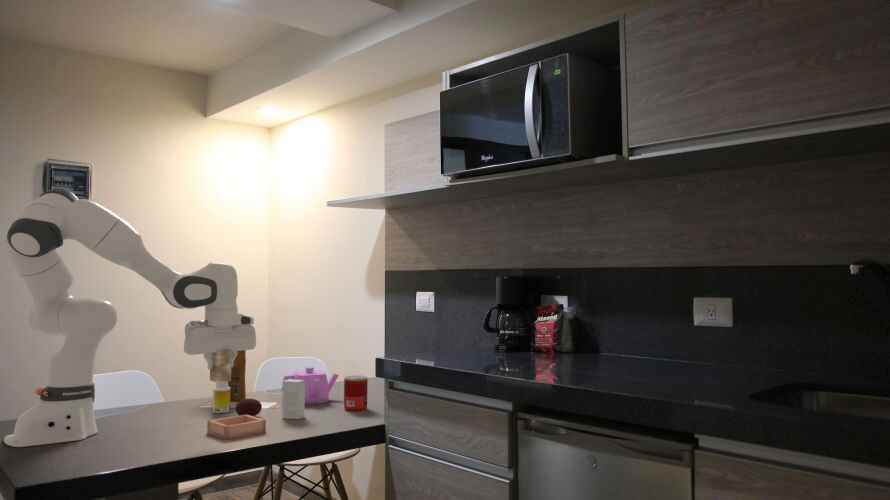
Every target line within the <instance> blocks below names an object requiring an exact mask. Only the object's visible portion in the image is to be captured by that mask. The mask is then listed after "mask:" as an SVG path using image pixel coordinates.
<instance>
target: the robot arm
mask: <svg viewBox="0 0 890 500" xmlns="http://www.w3.org/2000/svg"><path fill="white" fill-rule="evenodd" d="M64 240H73V241H77V242H78V243H80V244H81V245H83V246H84V247H86V248H87V249H89V250H90V251H91V252H93V253H94V254H96V255H98V256H99V257H101V258H103V259H105V260H107V261H109V262H111V263H113V264H115V265H118V266H120V267H123V268H127V269H129V270H131V271H133V272H135V273H136V274H138V275H139V276H141V277H142V278H143V279H145V280H146V281H148V282H149V283H150V284H152V285H153V286H154V287H155V288H157V289H158V290H159V291H160V292H161V294H162V295H163V298H164V299H165V300H166V302H167V303H168V304H169V305H170V306H171V307H173V308H177V309H180V310H181V309H183V310H184V309H186V310H187V309H189V310H193V309H197V308H201V307H204V320H201V319H200V320H191V321H190V322H188V323H186V325H185V326H184V335H185V336H184V341H183V342H184V344H183V351H184V353H185V355H190V356H193V355H194V356H195V355H203V358H204V360H205V361H206V364H207V369H208V370H210V369H215V363H214V362H212V361H211V359H210V357H212V353H216V352H217V350H227V349H231V367H233V361H234V360H235V358H236V356H237V351H241V350H246V351H250V350H254V349H255V347H256V345H257V335H256V334H257V333H256V328H255V326H253V325H254V321H255V319H254V318H253V317H252V316H248V315H246V314H243V313H239V310H238V304H237V298H238V295H239V294H238V293H239V288H238V287H239V284H238V274H237V270H236V269H235V267H234V266H232V265H230V264H226V263H221V262H209V263H208V264H207V265H205V266H204V267H201V268H199V269H198V270H196V271H193V272H190V273H181V272H177V271H175V270H173V269H172V268H170V267H169V266H168V265H166V264H165V263H164V262H161V260H159V259H158V258H156V257H155V256H154V255H152V254H151V252H149V251H148V249H147V248H146V247H145V244H144V242H143V239H142V236H141V235H140V233H139V232H138V231H137V230H136V229H135V228H133V226H131V224H129V223H128V222H127V221H126V220H124V219H123V218H121V217H119V216H118V215H117V214H116V213H114V212H112V210H109V209H108V208H105V207H104V206H102V205H100V204H98V203H96V202H94V201H92V200H90V199H87V198H82V199H79V198H78V197H77V196H76V195H75V194H74V193H73V192H71V191H70V190H69V189H68V190H67V189H65V188H59V187H56V188H52V189H49V190H46V191H45V192H43V193H41V194H40V195H39V196H38V197H37V198H36V199H35V200H34V201H32V202H31V203H30V204H29V205H28V206H27V207H25V209H24V210H23V212H22V213H21V214H20V215H19V216H18V218H17V219H16V220H15V221H13V222H12V224H11V225H10V226H9V229H8V231H7V235H6V237H5V241H4V244H5V248H6V251H7V254H8V256H9V258H10V261H11V263H12V265H13V266H14V268H15V270H16V271H17V273H18V275H19V276H20V278H21V280H22V281H23V283H24V284H25V286H26V288H27V289H28V291H29V292H30V295H31V298H32V301H33V304H32V306H31V307H30V309H29V312H28V323H29V326H30V327H31V329H32V330H33V331H35V332H37V333H40V334H43V335H46V336H47V335H48V336H54V337H55V336H56V337H65V339H64V343H63V345H62V347H61V348H60V349H59V351H57V352H55V353H54V354H53V355H52V356H51V357H50V359H49V364H48V366H49V370H48V385H47V386H45V387H43V388H42V387H37V388H36V389H35V390H34V392H35V394H36V395H38V396H39V401H37V402H36V403H35V404H34V405H33V406H31V407H30V408H29V409H27V410H26V411H25V412H23V413H22V414H20V415H19V416H18V418H17V420H16V423H15V424H14V425H15V426H14V430H13V434H9V435H6V436H5V437H4V440H3V442H4V444H5V445H7V446H10V447H14V448H15V447H16V448H25V447H31V446H32V447H33V446H42V445H50V444H57V443H66V442H67V443H68V442H73V441H75V442H76V441H82V440H84V439H86V438H87V437H90V436H93V435H95V434H98V432H99V430H98V427H97V424H96V418H95V412H94V410H95V409H94V402H95V398H96V396H95V395H96V388H95V383H94V371H95V370H94V368H95V358H96V353H97V351H98V348H99V346H100V344H101V342H102V341H103V339H104V338H105V337H106V336H107V335H108V334H109V333H111V332H112V330H114V328H115V327H116V324H117V321H118V313H117V309H116V307H115V306H114V305H113V304H112V303H111V302H109V301H106V300H104V299H98V298H95V297H93V298H92V297H91V298H90V297H73V296H72V295H71V294H70V292H69V290H70V288H71V286H72V285H73V282H74V274H73V273H72V270H71V269H70V267H69V265H68V264H67V262H66V260H65V258H64V257H63V255H62V253H61V252H60V250H59V248H60V247H63V245H64Z"/></svg>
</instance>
